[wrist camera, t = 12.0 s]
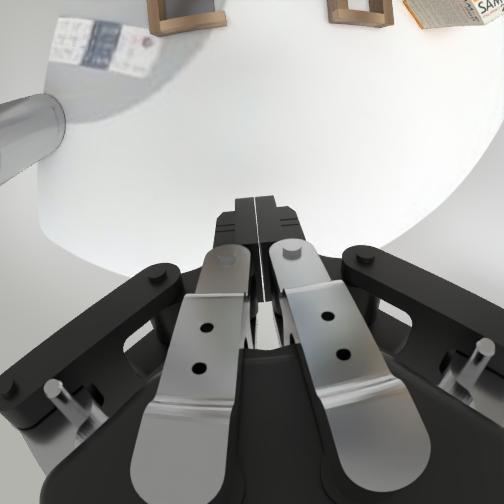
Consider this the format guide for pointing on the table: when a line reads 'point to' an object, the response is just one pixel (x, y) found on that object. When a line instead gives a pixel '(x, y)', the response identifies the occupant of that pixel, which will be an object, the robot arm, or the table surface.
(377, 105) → the table surface
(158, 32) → the frame
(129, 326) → the robot arm
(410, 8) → the supplement box
